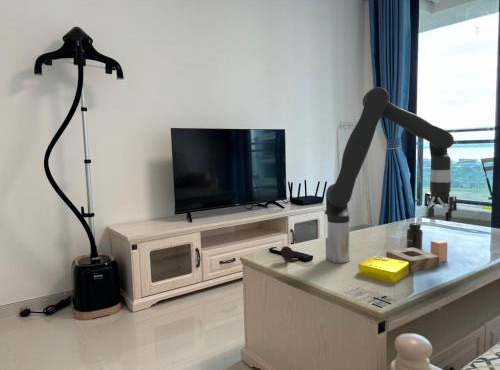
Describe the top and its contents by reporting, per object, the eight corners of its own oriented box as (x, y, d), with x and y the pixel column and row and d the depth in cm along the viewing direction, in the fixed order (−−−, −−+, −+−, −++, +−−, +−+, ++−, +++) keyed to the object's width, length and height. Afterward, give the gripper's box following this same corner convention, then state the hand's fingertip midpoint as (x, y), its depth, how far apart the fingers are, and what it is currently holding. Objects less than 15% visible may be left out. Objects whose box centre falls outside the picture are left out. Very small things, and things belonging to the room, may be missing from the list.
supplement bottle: (405, 249, 166) (406, 224, 165) (406, 245, 172) (407, 221, 171) (422, 251, 163) (422, 225, 161) (422, 247, 169) (423, 222, 167)
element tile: (356, 274, 138) (356, 262, 137) (374, 264, 148) (374, 253, 148) (394, 284, 127) (394, 271, 127) (410, 272, 138) (411, 260, 137)
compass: (301, 259, 158) (301, 243, 157) (292, 264, 151) (292, 247, 151) (286, 256, 162) (286, 240, 162) (276, 261, 156) (276, 244, 155)
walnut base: (410, 272, 137) (410, 260, 137) (386, 261, 151) (386, 251, 150) (439, 267, 142) (439, 256, 141) (412, 257, 155) (413, 247, 154)
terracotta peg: (438, 262, 148) (439, 243, 147) (430, 259, 152) (430, 240, 151) (446, 260, 149) (447, 242, 148) (438, 257, 153) (438, 239, 152)
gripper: (419, 179, 152) (419, 216, 154) (447, 182, 139) (446, 223, 141) (433, 178, 155) (432, 215, 156) (462, 181, 141) (461, 221, 143)
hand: (439, 218), depth 149 cm, fingers open, 8 cm apart
